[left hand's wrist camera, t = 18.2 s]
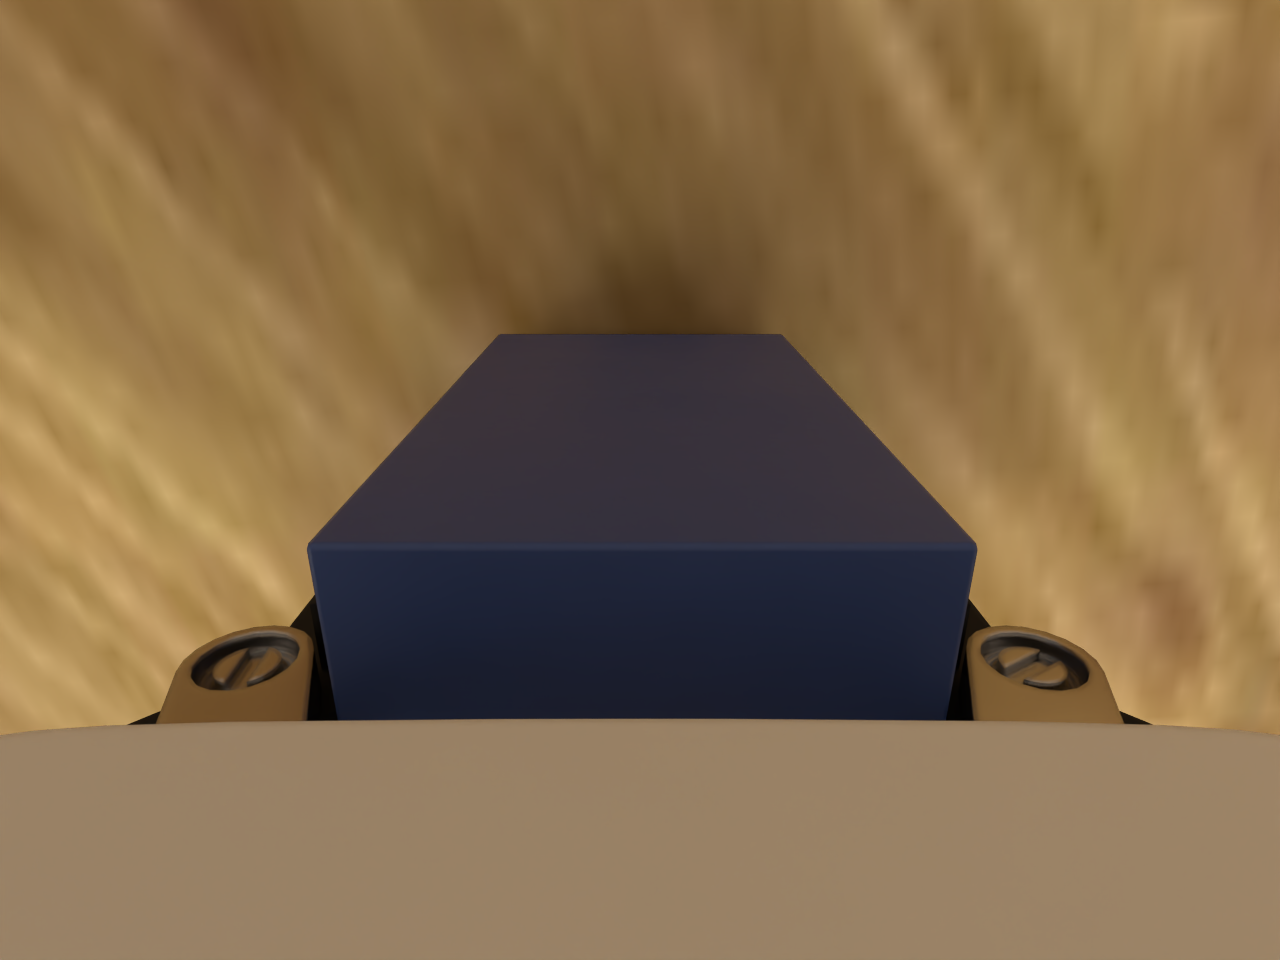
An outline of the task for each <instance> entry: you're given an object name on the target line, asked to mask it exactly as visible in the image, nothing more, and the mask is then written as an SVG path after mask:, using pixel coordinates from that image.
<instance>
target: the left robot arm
mask: <svg viewBox="0 0 1280 960" xmlns="http://www.w3.org/2000/svg"><path fill="white" fill-rule="evenodd" d="M0 960H1280V735H1275V734H1267V733H1258V732H1250V731H1242V730H1232V729H1216V728H1200V727H1183V726H1167V725H1152V724H1150V723H1148V722H1145V721H1143V720H1140V719H1138V718H1135V717H1133V716H1131V715H1128V714H1126V713H1123V712H1121V711H1119V709H1118V706H1117V704H1116V701H1115V699H1114V696H1113V693H1112V691H1111V688H1110V686H1109V683H1108V680H1107V678H1106V675H1105V673H1104V671H1103V669H1102V668H1101V666H1100V665H1099V663H1098V662H1097V660H1096V659H1094V658H1093V657H1092V656H1091V655H1090V654H1088V653H1087V652H1086V651H1085V650H1084V649H1082V648H1080V647H1078V646H1077V645H1075V644H1073V643H1071V642H1069V641H1068V640H1066V639H1063V638H1061V637H1058V636H1055V635H1053V634H1050V633H1047V632H1044V631H1040V630H1035V629H1031V628H1027V627H1017V626H994V627H991V626H990V625H989V624H988V623H987V621H986V620H985V619H984V617H983V616H982V615H981V614H980V612H979V611H978V610H977V609H976V607H975V606H974V605H973V603H972V602H971V601H970V600H969V598H968V604H967V609H966V614H965V620H964V625H963V630H962V636H961V641H960V647H959V652H958V657H957V663H956V668H955V674H954V679H953V684H952V690H951V695H950V701H949V706H948V711H947V717H946V721H918V720H800V719H455V720H362V721H338V718H337V713H336V707H335V702H334V696H333V691H332V685H331V680H330V674H329V669H328V663H327V658H326V652H325V647H324V641H323V636H322V630H321V625H320V619H319V614H318V608H317V603H316V597H315V595H314V596H313V598H312V599H311V600H310V602H309V603H308V604H307V605H306V607H305V608H304V609H303V610H302V612H301V613H300V614H299V616H298V617H297V618H296V619H295V621H294V622H293V623H292V624H291V626H290V627H286V626H263V627H253V628H249V629H245V630H240V631H236V632H233V633H230V634H227V635H225V636H222V637H219V638H217V639H214V640H212V641H211V642H209V643H207V644H205V645H203V646H202V647H200V648H198V649H196V650H195V651H194V652H193V653H192V654H190V655H189V656H188V657H187V658H186V659H184V660H183V662H182V663H181V665H180V666H179V668H178V669H177V671H176V673H175V675H174V678H173V680H172V683H171V686H170V688H169V691H168V693H167V696H166V699H165V701H164V704H163V706H162V709H161V711H160V712H157V713H155V714H152V715H150V716H147V717H145V718H142V719H140V720H138V721H135V722H133V723H130V724H128V725H112V726H94V727H80V728H66V729H52V730H37V731H29V732H21V733H13V734H6V735H0Z"/></svg>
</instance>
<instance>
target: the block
mask: <svg viewBox="0 0 1280 960" xmlns="http://www.w3.org/2000/svg"><path fill="white" fill-rule="evenodd" d="M307 553H308V559H309V564H310V570H311V575H312V581H313V586H314V592H315V597H316V603H317V608H318V614H319V619H320V625H321V630H322V636H323V641H324V647H325V652H326V658H327V663H328V669H329V674H330V680H331V685H332V691H333V696H334V702H335V707H336V713H337V718H338V721H362V720H455V719H800V720H918V721H946V717H947V711H948V706H949V701H950V695H951V690H952V684H953V679H954V674H955V668H956V663H957V657H958V652H959V647H960V641H961V636H962V630H963V625H964V620H965V614H966V609H967V604H968V598H969V593H970V587H971V582H972V577H973V571H974V566H975V560H976V555H977V546H976V543H975V542H974V541H973V540H972V539H971V537H970V536H969V535H968V534H967V533H966V532H965V531H964V530H963V529H962V528H961V527H960V526H959V525H958V524H957V522H956V521H955V520H954V519H953V518H952V517H951V516H950V515H949V514H948V513H947V512H946V511H945V510H944V508H943V507H942V506H941V505H940V504H939V503H938V502H937V501H936V500H935V499H934V498H933V497H932V496H931V494H930V493H929V492H928V491H927V490H926V489H925V488H924V487H923V486H922V485H921V484H920V483H919V482H918V481H917V479H916V478H915V477H914V476H913V475H912V474H911V473H910V472H909V471H908V470H907V469H906V468H905V467H904V465H903V464H902V463H901V462H900V461H899V460H898V459H897V458H896V457H895V456H894V455H893V454H892V453H891V451H890V450H889V449H888V448H887V447H886V446H885V445H884V444H883V443H882V442H881V441H880V440H879V439H878V438H877V436H876V435H875V434H874V433H873V432H872V431H871V430H870V429H869V428H868V427H867V426H866V425H865V424H864V422H863V421H862V420H861V419H860V418H859V417H858V416H857V415H856V414H855V413H854V412H853V411H852V410H851V408H850V407H849V406H848V405H847V404H846V403H845V402H844V401H843V400H842V399H841V398H840V397H839V396H838V395H837V393H836V392H835V391H834V390H833V389H832V388H831V387H830V386H829V385H828V384H827V383H826V382H825V381H824V379H823V378H822V377H821V376H820V375H819V374H818V373H817V372H816V371H815V370H814V369H813V368H812V367H811V365H810V364H809V363H808V362H807V361H806V360H805V359H804V358H803V357H802V356H801V355H800V354H799V353H798V352H797V350H796V349H795V348H794V347H793V346H792V345H791V344H790V343H789V342H788V341H787V340H786V339H785V338H784V336H783V335H781V334H500V335H498V336H497V337H496V338H495V340H494V341H493V342H492V343H491V344H490V345H489V346H488V347H487V348H486V349H485V351H484V352H483V353H482V354H481V355H480V356H479V357H478V358H477V359H476V360H475V361H474V363H473V364H472V365H471V366H470V367H469V368H468V369H467V370H466V371H465V372H464V374H463V375H462V376H461V377H460V378H459V379H458V380H457V381H456V382H455V383H454V384H453V386H452V387H451V388H450V389H449V390H448V391H447V392H446V393H445V394H444V395H443V397H442V398H441V399H440V400H439V401H438V402H437V403H436V404H435V405H434V406H433V407H432V409H431V410H430V411H429V412H428V413H427V414H426V415H425V416H424V417H423V418H422V419H421V421H420V422H419V423H418V424H417V425H416V426H415V427H414V428H413V429H412V430H411V432H410V433H409V434H408V435H407V436H406V437H405V438H404V439H403V440H402V441H401V443H400V444H399V445H398V446H397V447H396V448H395V449H394V450H393V451H392V452H391V453H390V455H389V456H388V457H387V458H386V459H385V460H384V461H383V462H382V463H381V464H380V465H379V467H378V468H377V469H376V470H375V471H374V472H373V473H372V474H371V475H370V476H369V478H368V479H367V480H366V481H365V482H364V483H363V484H362V485H361V486H360V487H359V488H358V490H357V491H356V492H355V493H354V494H353V495H352V496H351V497H350V498H349V499H348V501H347V502H346V503H345V504H344V505H343V506H342V507H341V508H340V509H339V510H338V511H337V513H336V514H335V515H334V516H333V517H332V518H331V519H330V520H329V521H328V522H327V524H326V525H325V526H324V527H323V528H322V529H321V530H320V531H319V532H318V533H317V534H316V536H315V537H314V538H313V539H312V540H311V541H310V542H309V543H308V547H307Z"/></svg>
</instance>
